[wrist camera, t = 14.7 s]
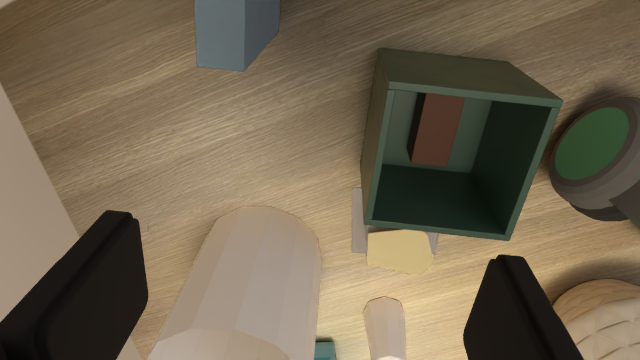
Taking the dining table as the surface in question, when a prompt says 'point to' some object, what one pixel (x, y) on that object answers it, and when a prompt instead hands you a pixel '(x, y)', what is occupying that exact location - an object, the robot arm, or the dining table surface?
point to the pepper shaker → (385, 329)
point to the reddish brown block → (433, 128)
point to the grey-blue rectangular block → (233, 31)
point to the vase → (602, 319)
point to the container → (247, 292)
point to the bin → (454, 145)
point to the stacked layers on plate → (391, 243)
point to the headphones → (601, 161)
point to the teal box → (324, 351)
